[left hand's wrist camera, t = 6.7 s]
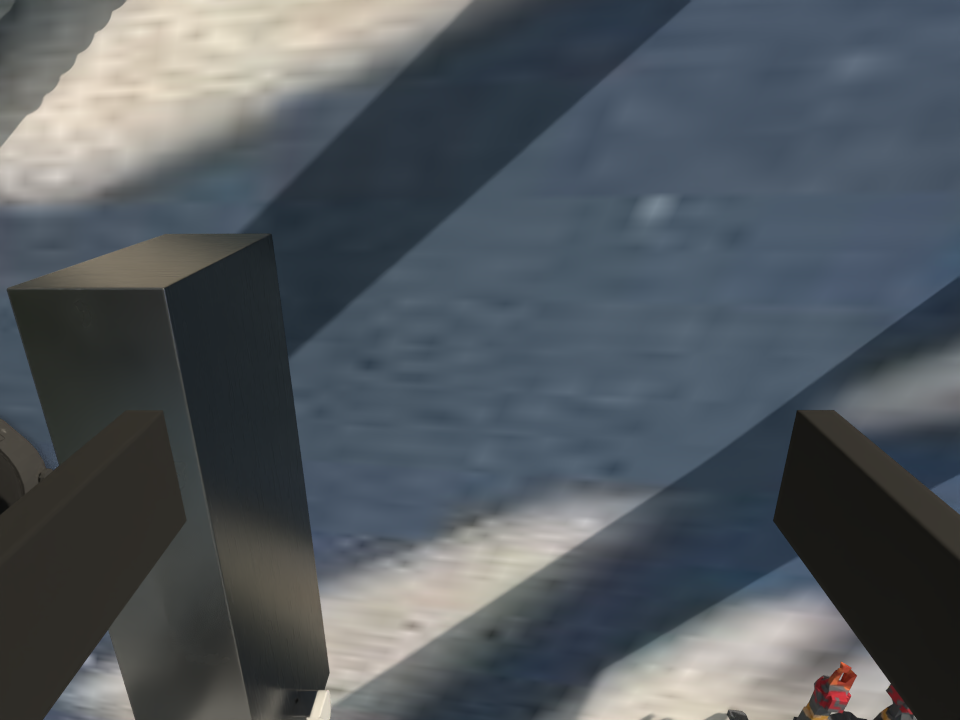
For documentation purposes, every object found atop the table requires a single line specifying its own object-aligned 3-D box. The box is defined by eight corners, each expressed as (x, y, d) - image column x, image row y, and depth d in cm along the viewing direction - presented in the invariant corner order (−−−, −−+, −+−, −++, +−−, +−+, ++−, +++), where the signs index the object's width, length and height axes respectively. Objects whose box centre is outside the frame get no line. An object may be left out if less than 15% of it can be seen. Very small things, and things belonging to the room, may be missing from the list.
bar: (165, 233, 27) (4, 288, 18) (272, 233, 27) (163, 287, 18) (250, 671, 37) (172, 846, 28) (329, 672, 37) (277, 848, 28)
